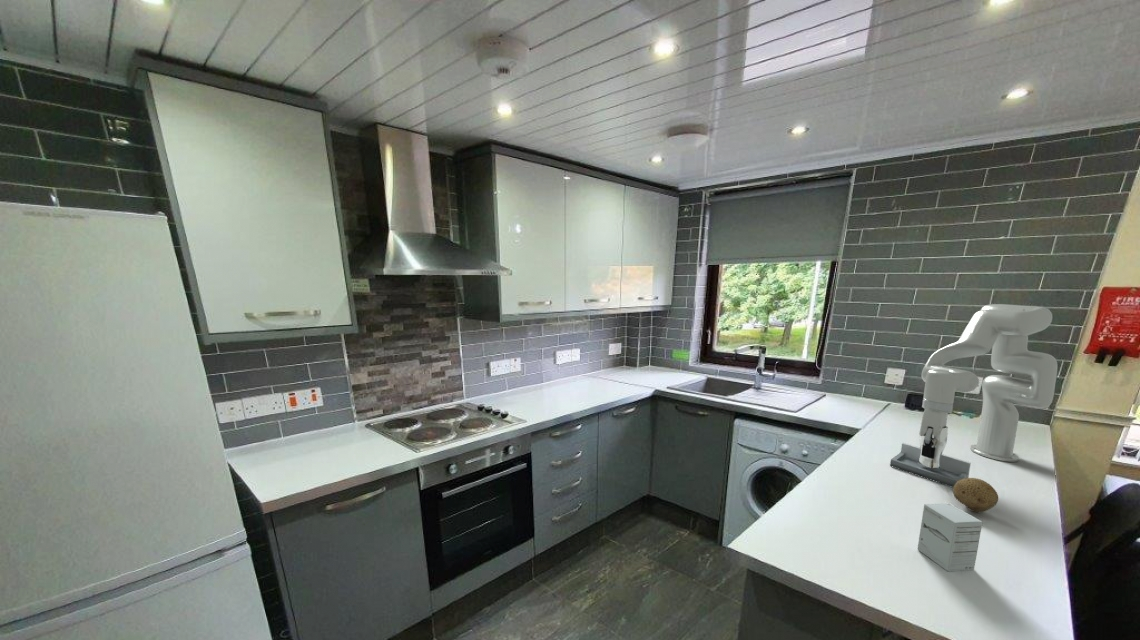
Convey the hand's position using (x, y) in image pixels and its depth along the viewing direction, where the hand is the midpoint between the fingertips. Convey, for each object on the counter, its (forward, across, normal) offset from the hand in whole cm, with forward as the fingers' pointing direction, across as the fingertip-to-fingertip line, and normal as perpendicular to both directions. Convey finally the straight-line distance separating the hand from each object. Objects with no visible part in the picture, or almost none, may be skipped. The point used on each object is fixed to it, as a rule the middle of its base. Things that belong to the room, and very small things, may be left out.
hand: (930, 454), depth 133 cm
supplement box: (+7, +53, +15) cm, 56 cm away
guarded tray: (+7, 0, 0) cm, 7 cm away
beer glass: (+4, 0, 0) cm, 4 cm away
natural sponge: (+7, +19, +14) cm, 25 cm away
